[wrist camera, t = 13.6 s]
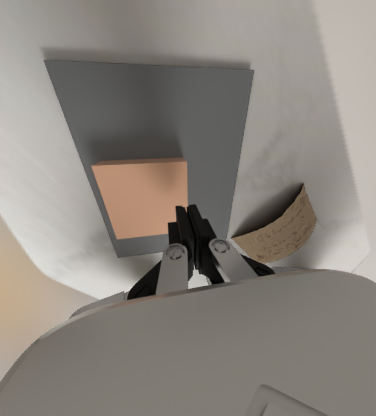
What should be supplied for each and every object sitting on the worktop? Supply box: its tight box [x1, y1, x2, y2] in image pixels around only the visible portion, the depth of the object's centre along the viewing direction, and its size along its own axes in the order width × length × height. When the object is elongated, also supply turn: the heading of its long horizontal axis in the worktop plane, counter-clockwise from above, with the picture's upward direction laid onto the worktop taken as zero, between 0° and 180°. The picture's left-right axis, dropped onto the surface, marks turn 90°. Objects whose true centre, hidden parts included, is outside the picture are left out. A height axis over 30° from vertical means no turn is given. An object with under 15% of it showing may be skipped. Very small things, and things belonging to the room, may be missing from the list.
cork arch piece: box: [232, 184, 317, 263], centre depth 22 cm, size 14×10×3 cm
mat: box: [44, 60, 254, 258], centre depth 16 cm, size 20×16×1 cm
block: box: [92, 157, 188, 239], centre depth 15 cm, size 8×2×8 cm
